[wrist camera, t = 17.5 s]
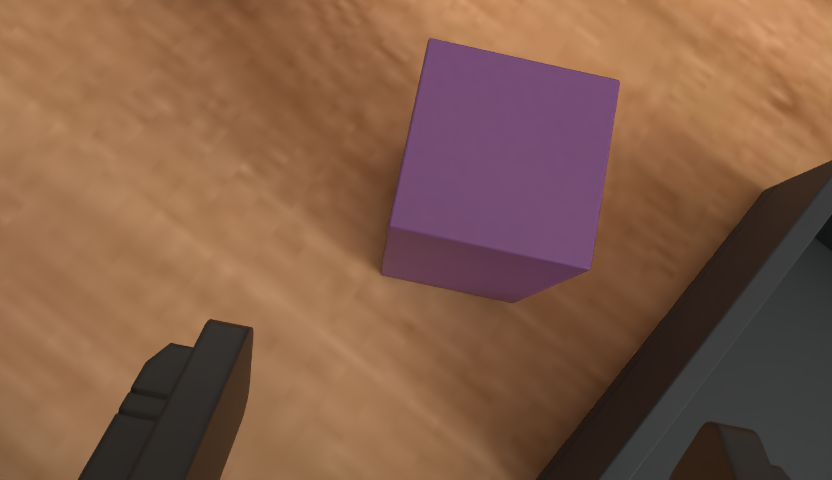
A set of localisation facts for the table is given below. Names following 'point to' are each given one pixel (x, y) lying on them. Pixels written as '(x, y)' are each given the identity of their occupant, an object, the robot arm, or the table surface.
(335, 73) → the table surface
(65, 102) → the table surface
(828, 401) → the tray
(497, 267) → the plum block
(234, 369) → the robot arm
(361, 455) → the table surface
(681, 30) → the table surface
